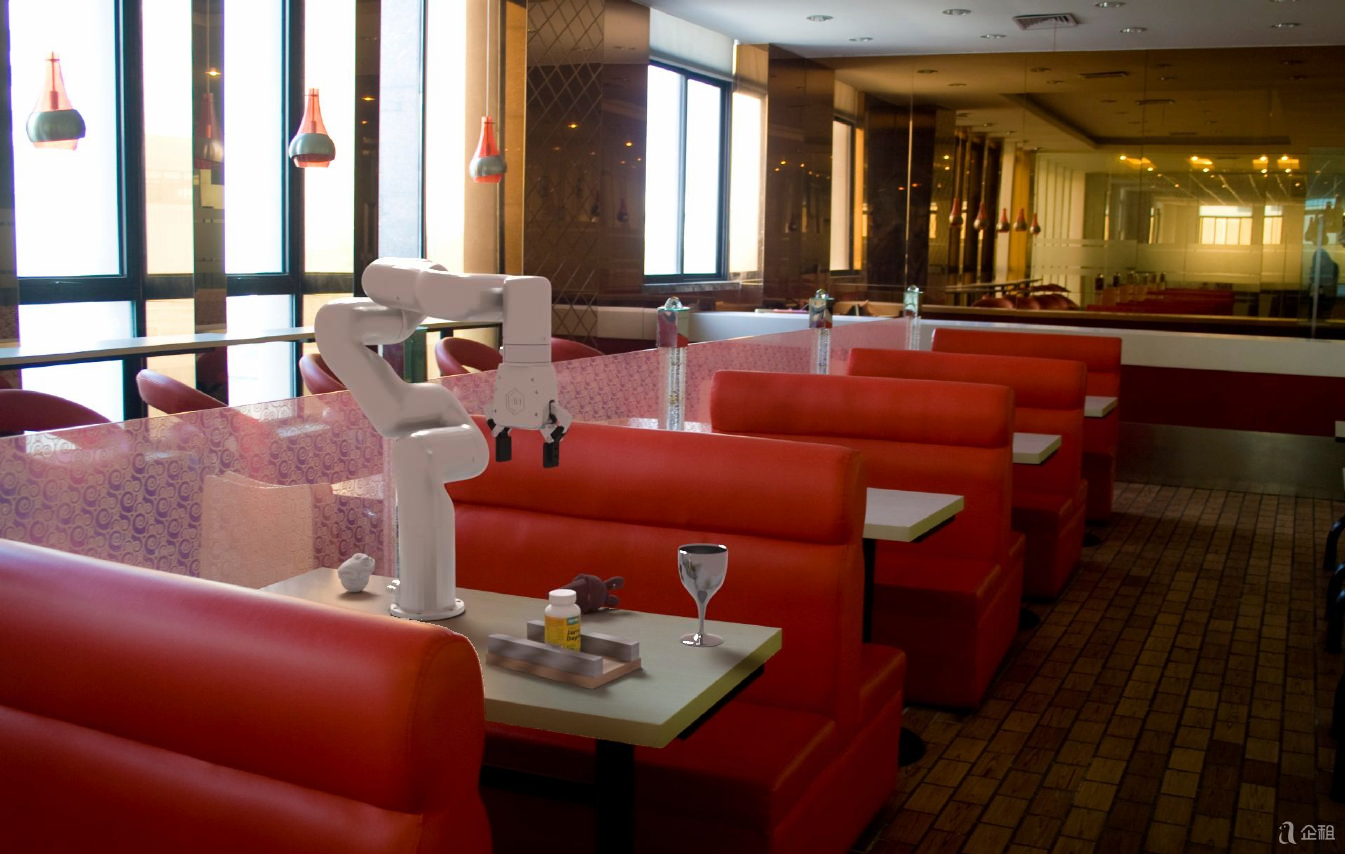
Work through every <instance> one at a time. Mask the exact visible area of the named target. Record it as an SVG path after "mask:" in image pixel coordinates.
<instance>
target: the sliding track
mask: <svg viewBox="0 0 1345 854" xmlns="http://www.w3.org/2000/svg"><path fill="white" fill-rule="evenodd" d="M485 663H486V664H489V665H492V666H493V665H494V666H496V667H497V666H498V667H501V668H505V669H510V670H514V671H517V672H521V673H526V674H530V675H534V676H538V677H542V678H546V679H550V680H553V681H558V682H562V683H566V684H569V685H570V684H571V685H574V686H578V687H583V688H586V689H591V690H593V689H595V688H598V687H600V686H602V685H605V684H607V683H609V682H612V681H614V680H616V679H618V678H620V677H622V676H624V675H626V674H629V673H631V672H634V671H635V670H637V669H640V668H642V657H641V656H640V641H636V640H633V639H632V640H631V639H626V638H622V637H618V636H613V635H608V634H603V633H599V632H595V631H591V630H585V629H581V630H580V652H578V651H574V650H569V649H565V648H561V647H556V646H552V645H547V644H545V620H544V621H543V620H538V619H533V620H530V621H527V622H526V638H521V637H517V636H511V635H508V634H502V633H498V632H496V633H493V634H490V635H488V636H487V652H485Z"/></svg>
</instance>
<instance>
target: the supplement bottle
mask: <svg viewBox="0 0 1345 854" xmlns="http://www.w3.org/2000/svg"><path fill="white" fill-rule="evenodd" d="M558 589H559V588H558ZM549 592H550V593H549ZM549 592H548V593H549V598H548V601H549V603H550V604H548V605H547V606H546V608H544V622H545V644H547V645H552V646H556V647H561V648H565V649H569V650H574V651H578V652H580V630H582V629H581V626H582V625H581V624H582V623H581V619H582V618H581V616H582V615H581V614H582V613H581V611H580V608H579V607H578V606H577V605H576V604H574V603H575V602H576V592H575V591H573V590H567V589H559V590H556V589H554V590H551V591H549Z"/></svg>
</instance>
